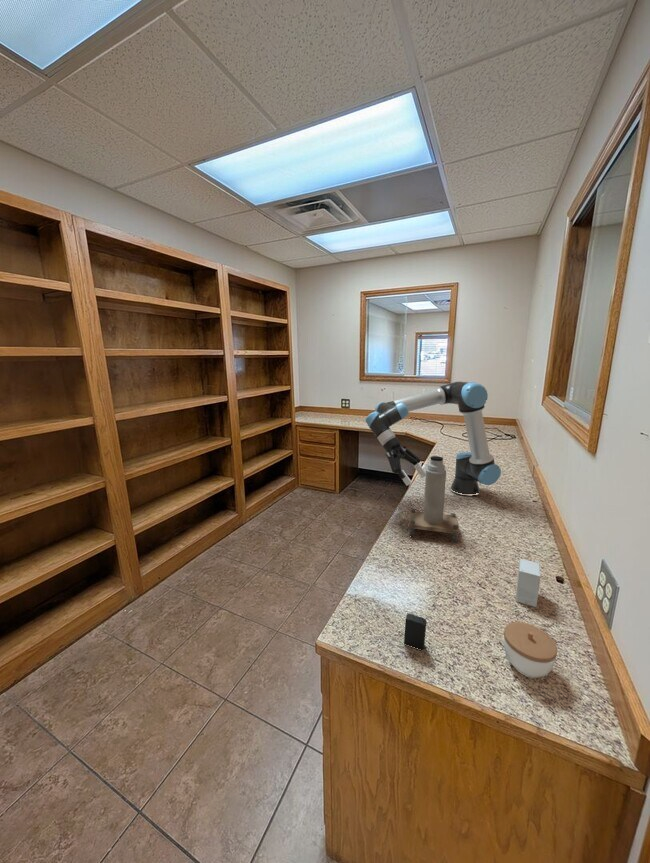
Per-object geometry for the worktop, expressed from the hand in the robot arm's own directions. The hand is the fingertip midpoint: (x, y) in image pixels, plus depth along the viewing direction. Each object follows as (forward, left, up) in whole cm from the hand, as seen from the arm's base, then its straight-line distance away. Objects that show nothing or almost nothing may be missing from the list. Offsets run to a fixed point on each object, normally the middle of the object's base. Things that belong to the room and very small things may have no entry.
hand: (417, 480), depth 143 cm
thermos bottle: (-7, +4, -16) cm, 18 cm away
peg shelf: (-7, +4, -22) cm, 23 cm away
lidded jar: (-27, +65, -22) cm, 74 cm away
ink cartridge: (-1, +66, -22) cm, 69 cm away
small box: (-34, +38, -22) cm, 56 cm away
